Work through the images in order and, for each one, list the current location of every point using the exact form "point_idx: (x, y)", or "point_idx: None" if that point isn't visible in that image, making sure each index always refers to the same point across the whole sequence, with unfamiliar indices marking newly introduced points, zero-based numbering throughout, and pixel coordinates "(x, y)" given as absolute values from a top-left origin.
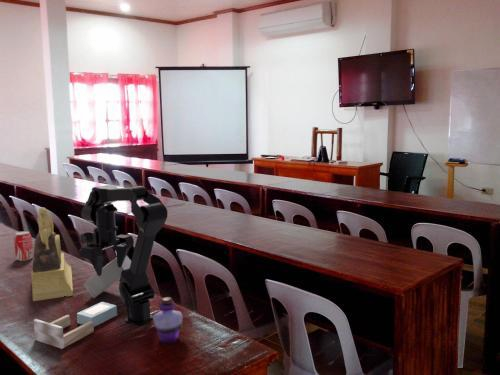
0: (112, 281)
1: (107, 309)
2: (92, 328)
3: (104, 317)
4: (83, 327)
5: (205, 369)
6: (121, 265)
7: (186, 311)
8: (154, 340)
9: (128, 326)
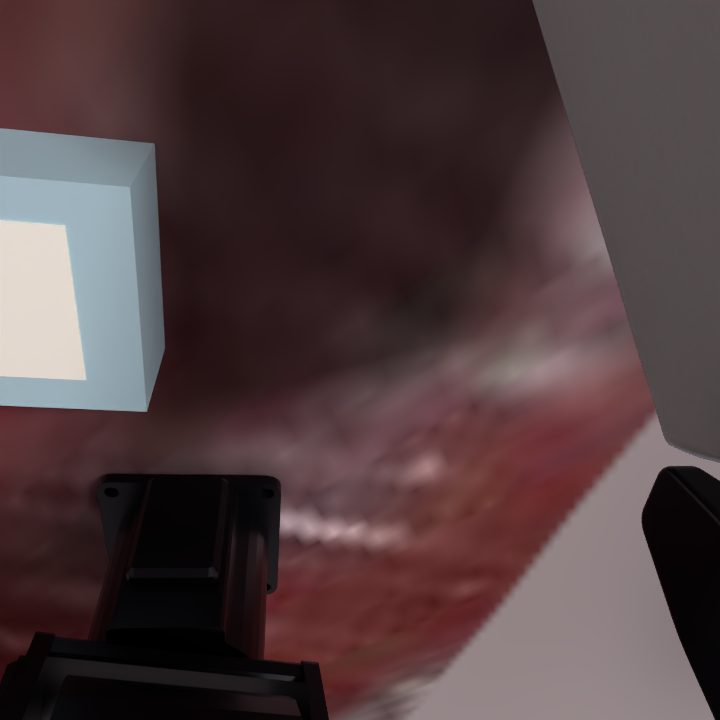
0: (572, 107)
1: (11, 396)
2: None
3: None
4: None
5: None
6: (672, 576)
7: (441, 658)
8: None
9: (62, 533)
